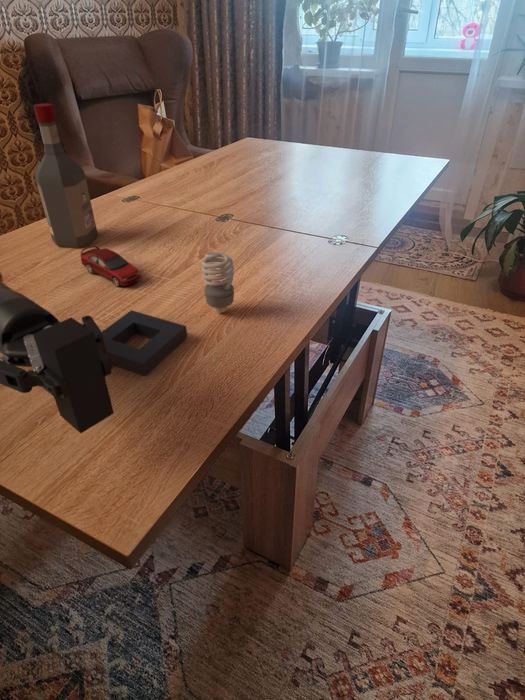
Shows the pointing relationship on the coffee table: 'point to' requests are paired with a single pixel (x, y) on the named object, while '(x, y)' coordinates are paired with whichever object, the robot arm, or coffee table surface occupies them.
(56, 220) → the liquor
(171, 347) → the base pad
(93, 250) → the toy car
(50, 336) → the post
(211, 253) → the light bulb
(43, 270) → the coffee table surface
